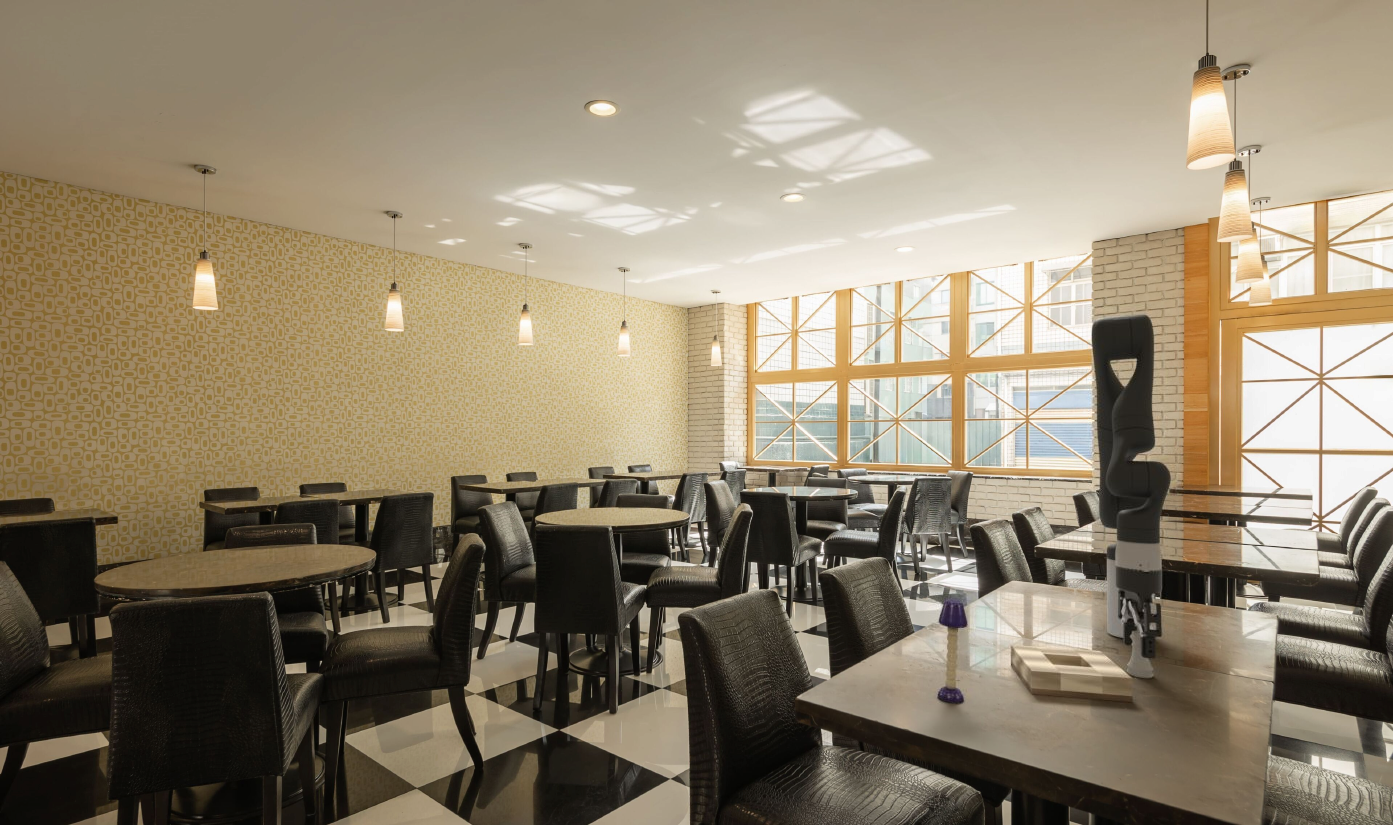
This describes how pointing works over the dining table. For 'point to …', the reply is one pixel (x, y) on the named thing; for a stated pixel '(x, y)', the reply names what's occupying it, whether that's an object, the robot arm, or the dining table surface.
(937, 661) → the dining table surface
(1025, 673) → the socket block
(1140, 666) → the rook chess piece
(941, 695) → the toy lamp
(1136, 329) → the robot arm
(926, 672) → the dining table surface
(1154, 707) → the dining table surface
